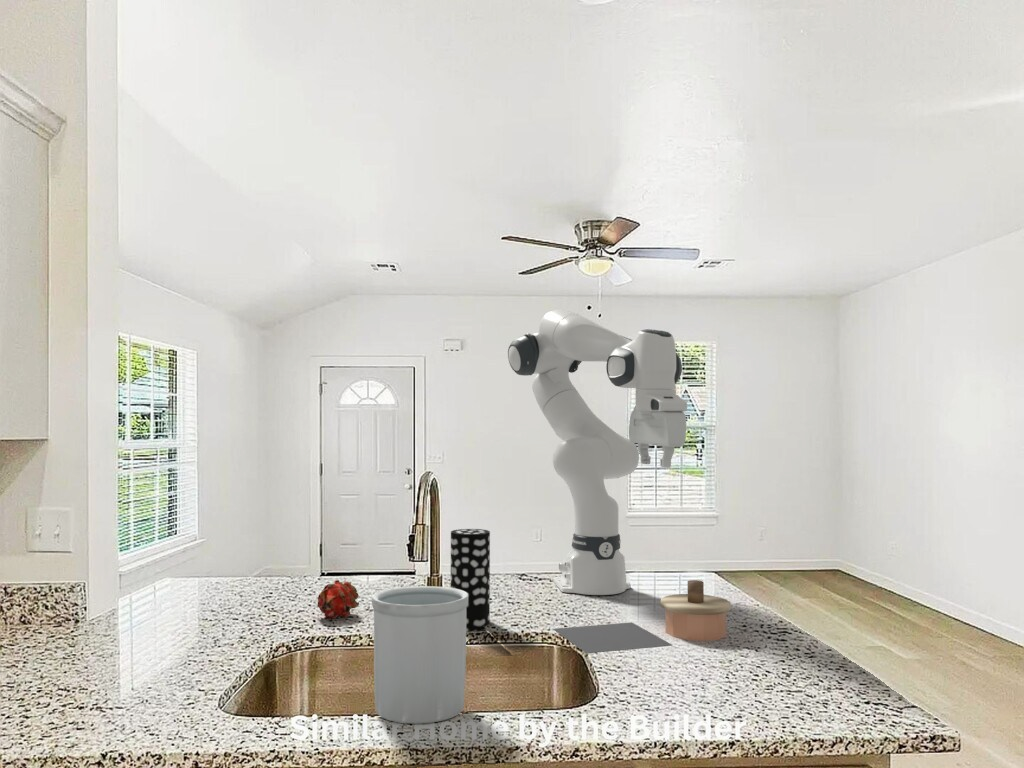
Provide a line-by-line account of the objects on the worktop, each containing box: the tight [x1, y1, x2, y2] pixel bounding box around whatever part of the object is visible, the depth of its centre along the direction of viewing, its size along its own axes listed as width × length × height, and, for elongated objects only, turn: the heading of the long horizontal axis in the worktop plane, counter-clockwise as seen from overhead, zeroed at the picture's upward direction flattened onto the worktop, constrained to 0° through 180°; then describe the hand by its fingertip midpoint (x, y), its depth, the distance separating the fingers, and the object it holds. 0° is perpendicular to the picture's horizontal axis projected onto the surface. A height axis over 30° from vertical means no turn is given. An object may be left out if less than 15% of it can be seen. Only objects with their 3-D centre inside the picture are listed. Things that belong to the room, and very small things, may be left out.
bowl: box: [665, 609, 727, 642], centre depth 173 cm, size 12×12×6 cm
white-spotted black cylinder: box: [450, 528, 491, 632], centre depth 181 cm, size 8×8×20 cm
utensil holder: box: [371, 585, 468, 725], centre depth 132 cm, size 15×15×18 cm
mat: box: [552, 621, 673, 654], centre depth 170 cm, size 18×18×1 cm
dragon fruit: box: [316, 579, 360, 620], centre depth 188 cm, size 8×8×12 cm
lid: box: [660, 579, 732, 615], centre depth 173 cm, size 14×14×5 cm
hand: (655, 465), depth 187 cm, fingers open, 8 cm apart
